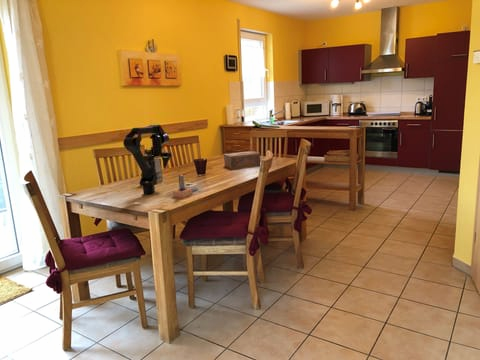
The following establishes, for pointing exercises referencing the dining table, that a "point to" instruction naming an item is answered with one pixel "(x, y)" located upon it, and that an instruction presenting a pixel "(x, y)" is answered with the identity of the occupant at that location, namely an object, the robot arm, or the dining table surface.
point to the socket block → (191, 186)
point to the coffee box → (157, 169)
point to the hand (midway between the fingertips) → (158, 169)
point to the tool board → (187, 196)
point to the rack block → (182, 192)
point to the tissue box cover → (242, 159)
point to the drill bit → (181, 182)
